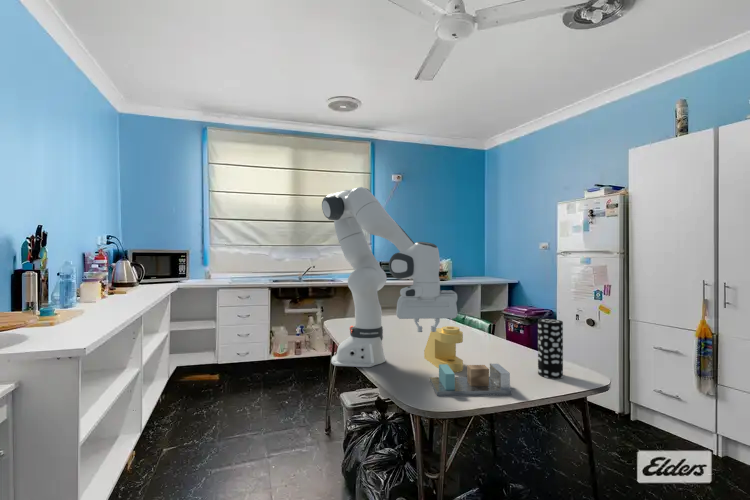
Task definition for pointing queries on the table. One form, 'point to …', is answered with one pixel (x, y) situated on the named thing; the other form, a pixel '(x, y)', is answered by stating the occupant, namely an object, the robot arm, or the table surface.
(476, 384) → the block
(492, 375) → the vise
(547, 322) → the white-spotted black cylinder
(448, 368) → the block
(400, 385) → the table surface
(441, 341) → the clamp
